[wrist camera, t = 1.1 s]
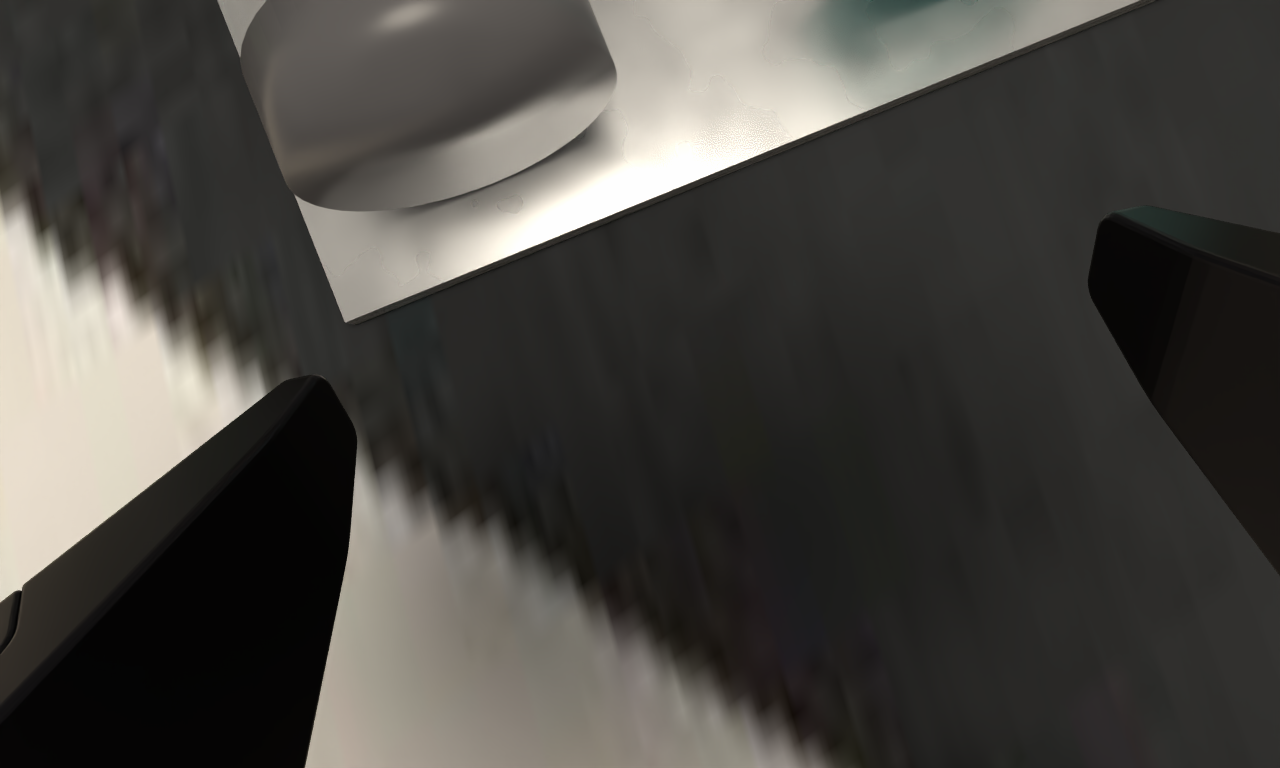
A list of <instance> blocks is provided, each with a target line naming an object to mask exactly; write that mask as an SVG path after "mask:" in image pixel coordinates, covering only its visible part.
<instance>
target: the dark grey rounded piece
mask: <svg viewBox="0 0 1280 768" xmlns="http://www.w3.org/2000/svg"><path fill="white" fill-rule="evenodd" d="M240 61H241V68H242V74H243V76H244V79H245V81H246V84H247V86H248V89H249V91H250V94H251V96H252V99H253V101H254V104H255V107H256V109H257V112H258V114H259V117H260V119H261V122H262V124H263V127H264V129H265V132H266V134H267V137H268V139H269V142H270V144H271V147H272V149H273V152H274V154H275V157H276V160H277V162H278V165H279V167H280V170H281V172H282V175H283V177H284V180H285V182H286V184H287V187H288V188H289V189H290V190H291V191H292V192H293V193H294V194H295V195H296V196H297V197H299V198H300V199H302V200H303V201H306V202H308V203H310V204H313V205H316V206H319V207H323V208H327V209H333V210H340V211H356V212H360V211H382V210H393V209H400V208H407V207H413V206H418V205H423V204H428V203H432V202H436V201H440V200H444V199H448V198H451V197H455V196H458V195H461V194H464V193H467V192H470V191H473V190H476V189H479V188H482V187H485V186H487V185H490V184H492V183H495V182H497V181H500V180H502V179H504V178H507V177H509V176H511V175H513V174H515V173H517V172H519V171H521V170H524V169H526V168H528V167H529V166H531V165H533V164H535V163H537V162H539V161H540V160H542V159H544V158H546V157H547V156H549V155H550V154H552V153H554V152H555V151H557V150H558V149H560V148H561V147H563V146H564V145H566V144H567V143H568V142H570V141H571V140H572V139H574V138H575V137H576V136H577V135H579V134H580V133H581V132H582V131H583V130H585V129H586V128H587V127H588V126H589V125H590V124H591V123H592V122H593V121H594V120H595V119H596V118H597V117H598V115H599V114H600V113H601V112H602V111H603V109H604V108H605V106H606V105H607V104H608V102H609V100H610V98H611V96H612V94H613V92H614V89H615V86H616V82H617V71H616V68H615V64H614V61H613V59H612V57H611V54H610V52H609V49H608V47H607V44H606V42H605V39H604V37H603V34H602V32H601V29H600V27H599V24H598V22H597V19H596V17H595V14H594V12H593V9H592V7H591V4H590V2H589V0H267V1H266V2H265V3H264V4H263V6H262V7H261V8H260V9H259V11H258V12H257V13H256V15H255V16H254V18H253V20H252V22H251V23H250V25H249V27H248V29H247V31H246V34H245V37H244V40H243V43H242V47H241V57H240Z"/></svg>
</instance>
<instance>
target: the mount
mask: <svg viewBox="0 0 1280 768" xmlns="http://www.w3.org/2000/svg"><path fill="white" fill-rule="evenodd" d="M266 1H267V0H218V3H219V5H220V8H221V10H222V13H223V15H224V18H225V20H226V23H227V26H228V28H229V31H230V33H231V36H232V38H233V41H234V43H235V46H236V48H237V51H238V53H239V56H240V57H241V47H242V43H243V40H244V37H245V34H246V31H247V29H248V27H249V25H250V23H251V22H252V20H253V18H254V16H255V15H256V13H257V12H258V11H259V9H260V8H261V7H262V6H263V4H264V3H265V2H266ZM1154 1H1157V0H589V2H590V4H591V7H592V9H593V12H594V14H595V17H596V19H597V22H598V24H599V27H600V29H601V32H602V34H603V37H604V39H605V42H606V44H607V47H608V49H609V52H610V54H611V57H612V59H613V61H614V64H615V68H616V71H617V82H616V86H615V89H614V92H613V94H612V96H611V98H610V100H609V102H608V104H607V105H606V106H605V108H604V109H603V111H602V112H601V113H600V114H599V115H598V117H597V118H596V119H595V120H594V121H593V122H592V123H591V124H590V125H589V126H588V127H587V128H586V129H585V130H583V131H582V132H581V133H580V134H579V135H577V136H576V137H575V138H574V139H572V140H571V141H570V142H568V143H567V144H566V145H564V146H563V147H561V148H560V149H558V150H557V151H555V152H554V153H552V154H550V155H549V156H547V157H546V158H544V159H542V160H540V161H539V162H537V163H535V164H533V165H531V166H529V167H528V168H526V169H524V170H521V171H519V172H517V173H515V174H513V175H511V176H509V177H507V178H504V179H502V180H500V181H497V182H495V183H492V184H490V185H487V186H485V187H482V188H479V189H476V190H473V191H470V192H467V193H464V194H461V195H458V196H455V197H451V198H448V199H444V200H440V201H436V202H432V203H428V204H423V205H418V206H413V207H407V208H400V209H393V210H382V211H360V212H356V211H340V210H333V209H327V208H323V207H319V206H316V205H313V204H310V203H308V202H306V201H303V200H302V199H300V198H299V197H297V196H296V195H295V194H294V195H295V197H296V200H297V202H298V205H299V207H300V210H301V212H302V215H303V217H304V220H305V222H306V225H307V227H308V230H309V232H310V235H311V238H312V240H313V243H314V245H315V248H316V250H317V253H318V255H319V258H320V260H321V263H322V265H323V268H324V270H325V273H326V275H327V278H328V280H329V283H330V285H331V288H332V291H333V293H334V296H335V298H336V301H337V303H338V306H339V308H340V311H341V313H342V316H343V318H344V321H345V323H350V324H355V325H357V324H359V323H362V322H364V321H367V320H369V319H372V318H374V317H377V316H379V315H381V314H384V313H386V312H389V311H391V310H394V309H396V308H399V307H401V306H404V305H406V304H409V303H411V302H414V301H416V300H419V299H421V298H423V297H426V296H428V295H431V294H433V293H436V292H438V291H441V290H443V289H446V288H448V287H451V286H453V285H456V284H458V283H460V282H463V281H465V280H468V279H470V278H473V277H475V276H478V275H480V274H483V273H485V272H488V271H490V270H493V269H495V268H498V267H500V266H502V265H505V264H507V263H510V262H512V261H515V260H517V259H520V258H522V257H525V256H527V255H530V254H532V253H535V252H537V251H539V250H542V249H544V248H547V247H549V246H552V245H554V244H557V243H559V242H562V241H564V240H567V239H569V238H572V237H574V236H576V235H579V234H581V233H584V232H586V231H589V230H591V229H594V228H596V227H599V226H601V225H604V224H606V223H609V222H611V221H614V220H616V219H618V218H621V217H623V216H626V215H628V214H631V213H633V212H636V211H638V210H641V209H643V208H646V207H648V206H651V205H653V204H655V203H658V202H660V201H663V200H665V199H668V198H670V197H673V196H675V195H678V194H680V193H683V192H685V191H688V190H690V189H693V188H695V187H697V186H700V185H702V184H705V183H707V182H710V181H712V180H715V179H717V178H720V177H722V176H725V175H727V174H730V173H732V172H734V171H737V170H739V169H742V168H744V167H747V166H749V165H752V164H754V163H757V162H759V161H762V160H764V159H767V158H769V157H771V156H774V155H776V154H779V153H781V152H784V151H786V150H789V149H791V148H794V147H796V146H799V145H801V144H804V143H806V142H809V141H811V140H813V139H816V138H818V137H821V136H823V135H826V134H828V133H831V132H833V131H836V130H838V129H841V128H843V127H846V126H848V125H850V124H853V123H855V122H858V121H860V120H863V119H865V118H868V117H870V116H873V115H875V114H878V113H880V112H883V111H885V110H888V109H890V108H892V107H895V106H897V105H900V104H902V103H905V102H907V101H910V100H912V99H915V98H917V97H920V96H922V95H925V94H927V93H929V92H932V91H934V90H937V89H939V88H942V87H944V86H947V85H949V84H952V83H954V82H957V81H959V80H962V79H964V78H966V77H969V76H971V75H974V74H976V73H979V72H981V71H984V70H986V69H989V68H991V67H994V66H996V65H999V64H1001V63H1004V62H1006V61H1008V60H1011V59H1013V58H1016V57H1018V56H1021V55H1023V54H1026V53H1028V52H1031V51H1033V50H1036V49H1038V48H1041V47H1043V46H1045V45H1048V44H1050V43H1053V42H1055V41H1058V40H1060V39H1063V38H1065V37H1068V36H1070V35H1073V34H1075V33H1078V32H1080V31H1083V30H1085V29H1087V28H1090V27H1092V26H1095V25H1097V24H1100V23H1102V22H1105V21H1107V20H1110V19H1112V18H1115V17H1117V16H1120V15H1122V14H1124V13H1127V12H1129V11H1132V10H1134V9H1137V8H1139V7H1142V6H1144V5H1147V4H1149V3H1152V2H1154Z"/></svg>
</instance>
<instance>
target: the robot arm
mask: <svg viewBox="0 0 1280 768" xmlns="http://www.w3.org/2000/svg"><path fill="white" fill-rule="evenodd" d="M1088 288H1089V293H1090V296H1091V298H1092V301H1093V303H1094V304H1095V306H1096V308H1097V310H1098V311H1099V313H1100V315H1101V317H1102V318H1103V320H1104V322H1105V324H1106V325H1107V327H1108V329H1109V331H1110V332H1111V334H1112V336H1113V338H1114V339H1115V341H1116V343H1117V345H1118V346H1119V348H1120V350H1121V352H1122V353H1123V355H1124V357H1125V359H1126V360H1127V362H1128V364H1129V366H1130V368H1131V369H1132V371H1133V373H1134V375H1135V376H1136V378H1137V380H1138V382H1139V383H1140V385H1141V387H1142V388H1143V390H1144V391H1145V393H1146V395H1147V396H1148V398H1149V399H1150V401H1151V403H1152V404H1153V406H1154V407H1155V408H1156V410H1157V411H1158V413H1159V414H1160V415H1161V417H1162V418H1163V420H1164V421H1165V422H1166V424H1167V425H1168V426H1169V428H1170V429H1171V431H1172V432H1173V433H1174V435H1175V436H1176V437H1177V439H1178V440H1179V441H1180V443H1181V444H1182V445H1183V447H1184V448H1185V449H1186V451H1187V452H1188V453H1189V455H1190V456H1191V457H1192V459H1193V460H1194V461H1195V463H1196V464H1197V465H1198V467H1199V468H1200V469H1201V471H1202V472H1203V473H1204V475H1205V476H1206V477H1207V479H1208V480H1209V481H1210V483H1211V484H1212V485H1213V487H1214V488H1215V490H1216V491H1217V492H1218V494H1219V495H1220V496H1221V498H1222V499H1223V500H1224V502H1225V503H1226V504H1227V506H1228V507H1229V508H1230V510H1231V511H1232V512H1233V514H1234V515H1235V516H1236V518H1237V519H1238V520H1239V522H1240V523H1241V524H1242V526H1243V527H1244V528H1245V530H1246V531H1247V532H1248V534H1249V535H1250V536H1251V538H1252V539H1253V540H1254V542H1255V543H1256V544H1257V546H1258V547H1259V549H1260V550H1261V551H1262V553H1263V554H1264V555H1265V557H1266V558H1267V559H1268V561H1269V562H1270V563H1271V565H1272V566H1273V567H1274V569H1275V570H1276V571H1277V573H1278V574H1279V575H1280V233H1276V232H1271V231H1266V230H1262V229H1257V228H1252V227H1248V226H1243V225H1238V224H1233V223H1229V222H1224V221H1219V220H1214V219H1210V218H1205V217H1200V216H1196V215H1191V214H1186V213H1181V212H1177V211H1172V210H1167V209H1162V208H1158V207H1153V206H1147V205H1146V206H1137V207H1132V208H1127V209H1122V210H1118V211H1113V212H1110V213H1108V214H1107V215H1105V216H1104V217H1103V218H1102V220H1101V221H1100V223H1099V226H1098V230H1097V235H1096V240H1095V245H1094V250H1093V255H1092V260H1091V265H1090V271H1089V276H1088ZM356 453H357V436H356V431H355V428H354V425H353V423H352V421H351V420H350V418H349V416H348V414H347V413H346V411H345V409H344V408H343V406H342V404H341V402H340V401H339V399H338V397H337V395H336V394H335V392H334V390H333V388H332V387H331V385H330V384H329V382H328V381H327V380H326V379H325V378H324V377H323V376H320V375H318V374H313V375H308V376H303V377H298V378H293V379H289V380H286V381H284V382H282V383H281V384H280V385H278V386H277V387H276V388H275V389H273V390H272V391H271V392H270V393H268V394H267V395H266V396H264V397H263V398H262V399H261V400H259V401H258V402H257V403H255V404H254V405H253V406H252V407H250V408H249V409H248V410H246V411H245V412H244V413H243V414H241V415H240V416H239V417H238V418H236V419H235V420H234V421H232V422H231V423H230V424H229V425H227V426H226V427H225V428H223V429H222V430H221V431H220V432H218V433H217V434H216V435H214V436H213V437H212V438H211V439H209V440H208V441H207V442H205V443H204V444H203V445H202V446H200V447H199V448H198V449H197V450H195V451H194V452H193V453H191V454H190V455H189V456H188V457H186V458H185V459H184V460H182V461H181V462H180V463H179V464H177V465H176V466H175V467H173V468H172V469H171V470H170V471H168V472H167V473H166V474H165V475H163V476H162V477H161V478H159V479H158V480H157V481H156V482H154V483H153V484H152V485H150V486H149V487H148V488H147V489H145V490H144V491H143V492H141V493H140V494H139V495H138V496H136V497H135V498H134V499H133V500H131V501H130V502H129V503H127V504H126V505H125V506H124V507H122V508H121V509H120V510H118V511H117V512H116V513H115V514H113V515H112V516H111V517H109V518H108V519H107V520H106V521H104V522H103V523H102V524H100V525H99V526H98V527H97V528H95V529H94V530H93V531H92V532H90V533H89V534H88V535H86V536H85V537H84V538H83V539H81V540H80V541H79V542H77V543H76V544H75V545H74V546H72V547H71V548H70V549H68V550H67V551H66V552H65V553H63V554H62V555H61V556H60V557H58V558H57V559H56V560H54V561H53V562H52V563H51V564H49V565H48V566H47V567H45V568H44V569H43V570H42V571H40V572H39V573H38V574H36V575H35V576H34V577H33V578H31V579H30V580H29V581H27V582H26V583H25V584H24V585H23V587H22V591H20V590H18V591H15V592H13V593H12V594H11V595H9V596H8V597H7V598H5V599H4V600H3V601H2V602H0V768H305V765H306V760H307V755H308V750H309V745H310V740H311V735H312V730H313V725H314V720H315V715H316V710H317V705H318V700H319V695H320V690H321V686H322V681H323V676H324V671H325V666H326V661H327V656H328V651H329V646H330V641H331V636H332V631H333V626H334V621H335V616H336V611H337V606H338V601H339V597H340V592H341V587H342V582H343V577H344V572H345V566H346V561H347V555H348V548H349V539H350V529H351V517H352V504H353V491H354V478H355V466H356Z"/></svg>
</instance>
